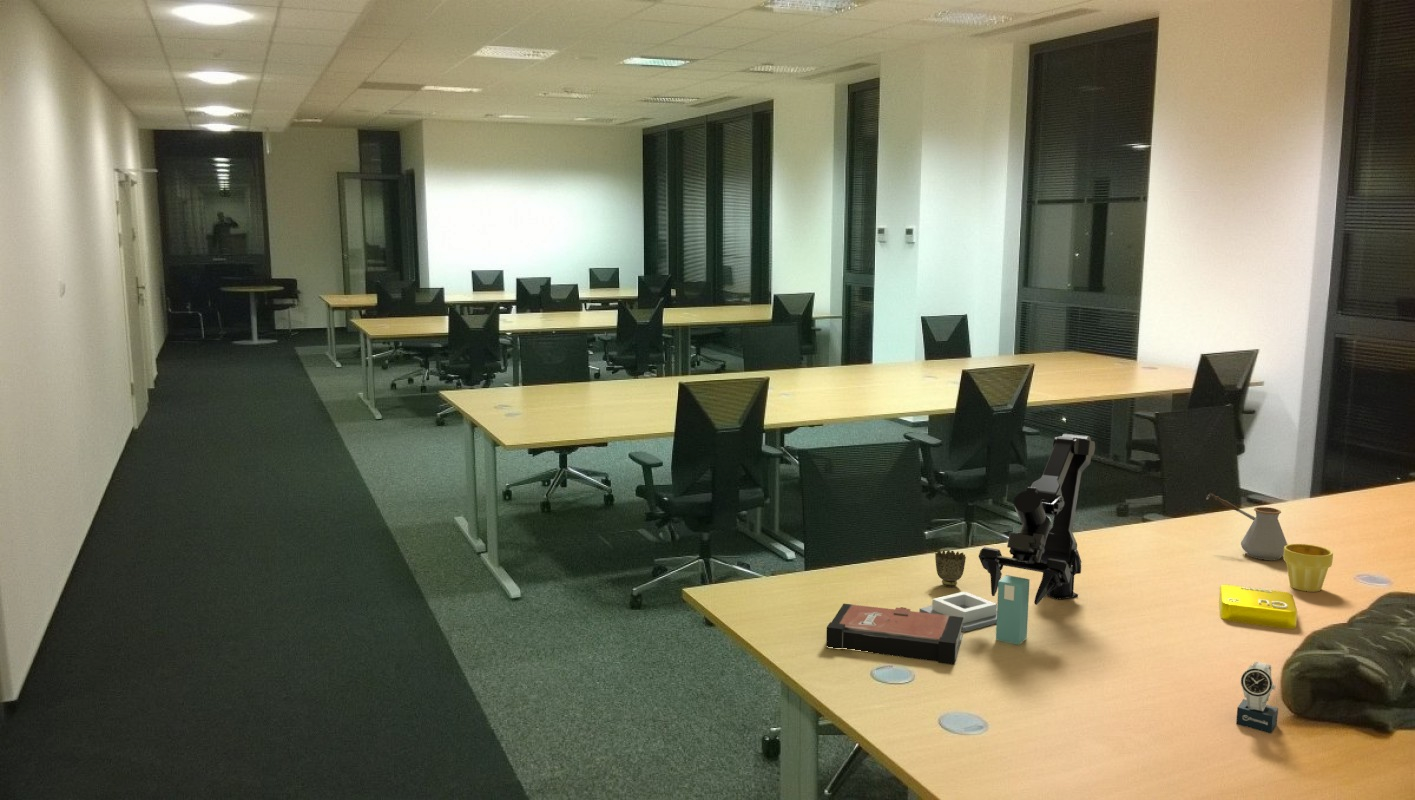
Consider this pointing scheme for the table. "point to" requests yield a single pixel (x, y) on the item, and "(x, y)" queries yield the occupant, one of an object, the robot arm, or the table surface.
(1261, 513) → the coffee pot
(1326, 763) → the table surface
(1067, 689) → the table surface
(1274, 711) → the watch
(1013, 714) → the table surface
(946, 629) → the book
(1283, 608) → the element tile
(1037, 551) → the robot arm
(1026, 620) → the teal rectangular block
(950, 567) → the cup
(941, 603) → the square socket base
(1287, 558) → the plant pot
